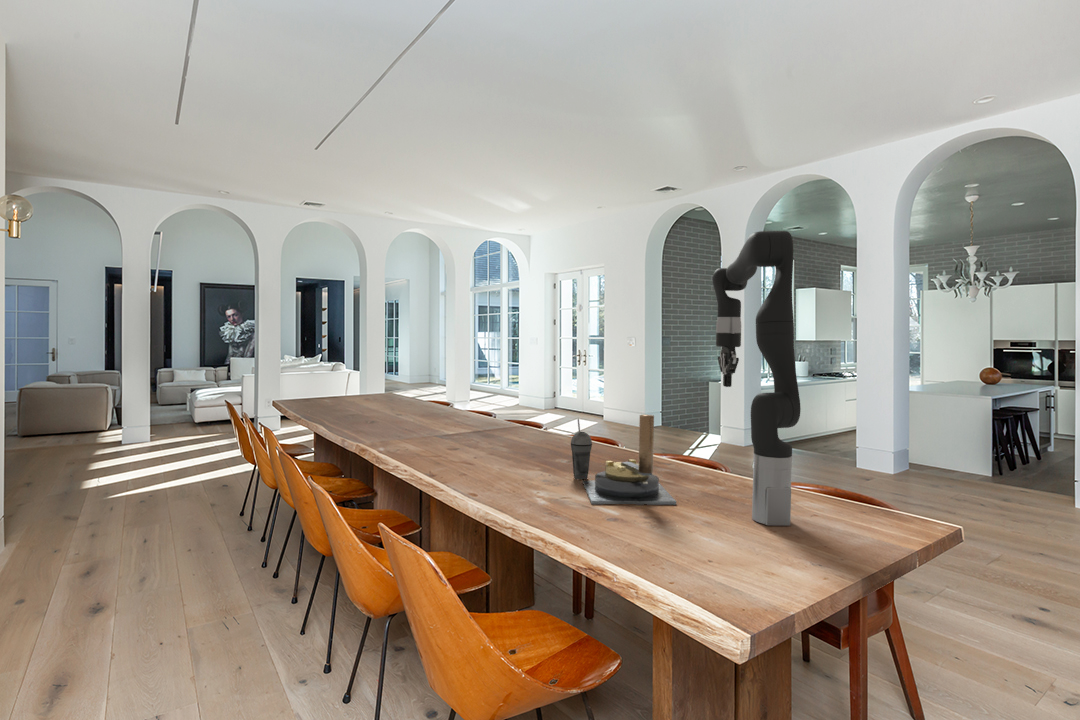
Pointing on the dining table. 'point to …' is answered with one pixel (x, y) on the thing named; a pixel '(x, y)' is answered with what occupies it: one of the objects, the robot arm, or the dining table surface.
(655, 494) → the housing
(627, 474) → the brass crank handle
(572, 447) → the beverage cup
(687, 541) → the dining table surface
